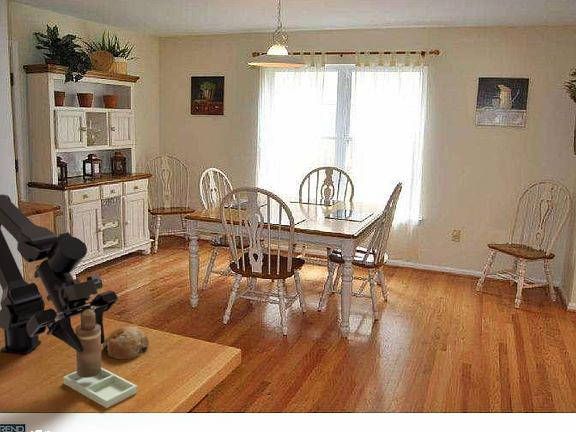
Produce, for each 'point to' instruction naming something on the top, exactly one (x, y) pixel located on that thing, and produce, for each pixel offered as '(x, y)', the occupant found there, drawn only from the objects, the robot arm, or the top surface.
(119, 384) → the caddy
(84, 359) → the pepper mill
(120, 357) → the bread roll
